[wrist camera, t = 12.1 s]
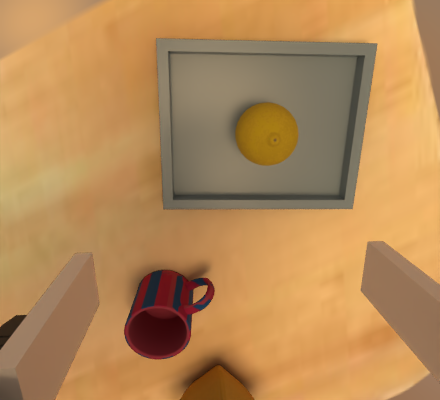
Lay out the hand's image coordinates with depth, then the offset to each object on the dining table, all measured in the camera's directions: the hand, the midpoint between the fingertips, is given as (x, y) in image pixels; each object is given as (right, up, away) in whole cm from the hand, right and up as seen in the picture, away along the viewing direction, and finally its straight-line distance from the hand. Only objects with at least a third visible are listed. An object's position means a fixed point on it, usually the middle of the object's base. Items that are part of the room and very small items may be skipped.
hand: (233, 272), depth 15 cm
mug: (-6, -7, +24) cm, 25 cm away
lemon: (+3, +11, +18) cm, 21 cm away
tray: (+4, +11, +18) cm, 21 cm away
